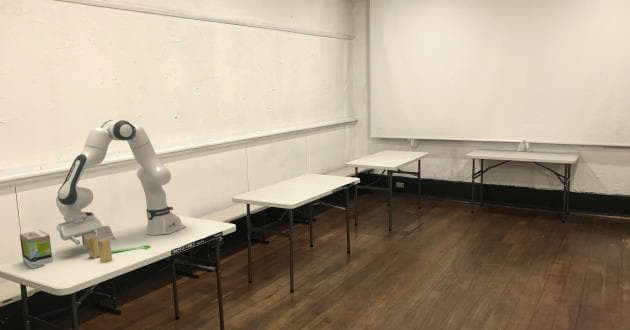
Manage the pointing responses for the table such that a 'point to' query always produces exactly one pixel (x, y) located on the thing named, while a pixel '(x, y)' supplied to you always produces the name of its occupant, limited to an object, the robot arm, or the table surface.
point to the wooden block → (92, 246)
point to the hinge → (101, 234)
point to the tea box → (36, 248)
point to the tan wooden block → (105, 250)
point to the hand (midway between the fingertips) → (87, 241)
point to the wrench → (131, 248)
